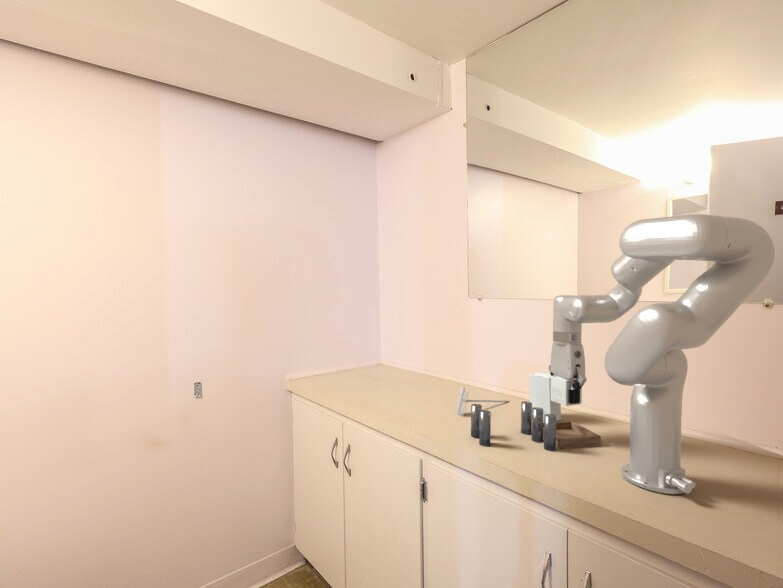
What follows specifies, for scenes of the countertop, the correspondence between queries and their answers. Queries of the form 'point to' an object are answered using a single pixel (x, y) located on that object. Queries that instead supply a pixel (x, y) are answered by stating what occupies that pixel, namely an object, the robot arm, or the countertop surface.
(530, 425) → the posts
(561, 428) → the walnut tray
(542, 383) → the skincare box
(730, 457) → the countertop surface
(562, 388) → the skincare box
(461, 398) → the brush
